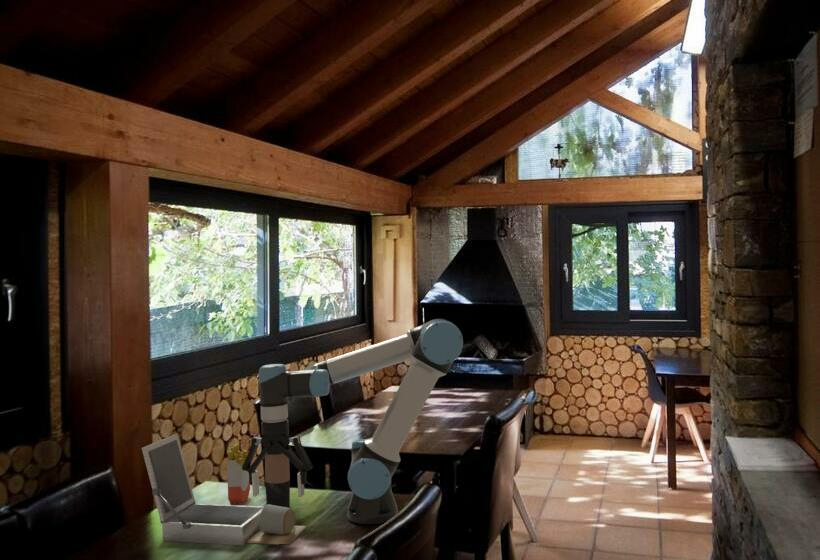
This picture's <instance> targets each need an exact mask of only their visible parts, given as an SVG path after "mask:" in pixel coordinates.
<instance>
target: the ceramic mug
mask: <svg viewBox="0 0 820 560" xmlns="http://www.w3.org/2000/svg"><path fill="white" fill-rule="evenodd" d="M263 506H264V508H263V509H262V511H261V514H260V519H259V527H260V530H261V532H263V533H270V534H281V535H286V534H289V533H290V532H291V531H292V530H293V527H294V525H295V524H296V513H295V511H294V509H292V508H290V507H289V508H287V507H281V506H275V505H270V504H267V503H266V504H265V505H263ZM295 526H296V525H295Z"/></svg>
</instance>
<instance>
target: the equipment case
mask: <svg viewBox="0 0 820 560" xmlns="http://www.w3.org/2000/svg"><path fill="white" fill-rule="evenodd" d="M180 442H181V441H180V440H179V436H178V433H176V434H172V435H170V436H168V437H166V438H165V437H164V438H163V439H160V440H157V441H155V442H153V443H151V444H148V445H146V446H143V447H141V451H142V455H143V459H144V463H145V466H146V470H147V473H148V479H149V481H150V486H151V489H152V491H151V492H152V496H154V501H155V505H156V508H157V512H158V515H159V520H160V521H159V522H160V524H161V527H162V541H163V542H179V543H195V544H197V543H199V544H214V545H229V546H231V545H232V546H244V545H246V544H247V543H248V540H249V539H250V538H251V537H252V536H254V535H255V534H256V533H257V532H258V531H260V527H259V519H260V514H261V511H262V509H263V508H264V506H265V505H263V506H262V505H261V506H259V505H242V504H215V503H196V499H195V495H194V492H193V488H192V484H191V481H190V476H189V474H188V470H187V465H186V462H185V458H184V453H183V451H182V446H181V444H180ZM203 521H204V522H203ZM193 522H194V523H193ZM200 522H203V523H200ZM221 522H224V523H223V524H222V523H221ZM219 523H220V524H219ZM225 523H226V524H225ZM233 524H234V525H233ZM239 524H240V525H239Z"/></svg>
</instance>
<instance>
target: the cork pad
mask: <svg viewBox="0 0 820 560" xmlns="http://www.w3.org/2000/svg"><path fill="white" fill-rule="evenodd" d="M306 529H307V525H294V527H293V530H292V531H291V532H290V533H289V534H286V535H281V534H270V533H263V532H261V530H260V531H258V532H257V533H256V534H255V535H254V536H252V537H251V538H250V539H249V540H248V541H247V543H249V544H261V545H262V544H263V545H265V544H266V545H267V544H268V545H279V544H290V543H291V542H292V541H293V542H294V541H295V540H296V539H297V538H298V537H299V536H300V535H301V534H302V533H303V532H304V531H305V530H306ZM293 542H292V543H293ZM292 543H291V544H292ZM291 544H290V545H291Z"/></svg>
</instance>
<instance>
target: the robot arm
mask: <svg viewBox="0 0 820 560" xmlns="http://www.w3.org/2000/svg"><path fill="white" fill-rule="evenodd" d="M463 347H464V339H463V334H462V332H461V330H460V328H458V326H457V325H456V324H454V323H453V322H452V321H450V320H448V319H445V318H434V319H431V320H429V321H427V322H426V323H425V322H424V323H423V324H421V325H419V326H416V327H414V328H411V329H407V331H406V334H404V335H400V336H398V337H397V336H396V337H393V338H391V339H387V340H385V341H384V340H383V341H381V342H378V343H375V344H372V345H369V346H366V347H363V348H359V349H357V350H353V351H351V352H347V353H344V354H342V355H341V354H340V355H337V356H333V357H332V358H329V359H326V360H323V361H320V362H313V363H310V364H308V365H306V367H304V369H303V370H287V368H286V365H285V364H284V363H283V364H282V363H270V364H265V365H262V366H260V368H259V370H258V376H259V377H258V387H259V388H258V389H259V401H260V420H261V436H262V437H260V436H257V435H256V436H254V437H252V438H251V441H250V448H249V450H248V451H247V457H246V459H245V462H244V464H243V467H242V470H243V471H248V472H249V482H250V485H251V484H252V485H251V486H252V497H255V498H256V497H257V496H258V495H259V494H260V480H259V470H257V468H258V467H259V466H260V464H261V463H262V461H263V460H265V456H266V455H267V453H268V452H269V453H270V454H273V453H277V454H281V453H283V454H284V455H286V456H287V457H288V459H289V462H290V463H292V465H293V466H294V467H295V469H297V470H298V473H297V474H296V475H297V493H298V494H297V495H298V496H297V498H302V497H304V495H305V485H306V484H307V481H308V477H307V475H308V474H307V472H309V471H310V470H312V469H313V468H314V467H313V464H312V462H311V460H310V457H309V456H308V454H307V451H306V450H305V448H304V446H303V444H302V441H301V437H300V436H299V435H297V436H295V437H290V434H289V433H290V428H289V427H290V426H289V420H288V417H289V410H288V399H292V398H319V397H324V396H328V395H329V393H330V386H332V385H335V384H337V383H340V382H341V383H342V382H344V381H347V380H350V379H353V378H357V377H359V376H362V375H363V376H364V375H366V374H369V373H372V372H375V371H379V370H381V369H385V368H388V367H390V366H391V367H392V366H395V365H397V364H400V363H404V362H406V361H410V360H411V364H410V366H409V368H408V369H407V371H406V374H405V375H404V377H403V378H402V381H401V382H400V384H399V387H398V388H397V390H396V392H395V394H394V396H393V398H392V400H391V401H390V404H388V407H387V409H386V411H385V413H384V414H383V416H382V418H381V420H380V422H379V424H378V426H377V428H376V429H375V432H374V433H373V435H372V437H370V438H362V439H356V440H353V441H352V443H351V447H350V451H351V462H350V466H349V469H348V472H347V481H348V485H349V488H350V490H351V492H352V493H351V496H350V499H349V504H348V507H347V513H346V514H347V520H349V521H350V522H352V523H356V524H361V525H380V524H385V523H386V522H385V521H387V520H389V519H390V518H391V517H393V516H394V515H396V514H397V513H399V509H398V505H397V501H396V499H395V497H394V494H393V491H392V477H393V475H394V474H395V472H396V470H397V468H398V466H399V464H400V462H401V456H400V451H401V449H402V446H403V445H404V444H405V441H406V439H407V438H408V436H409V434H410V432H411V431H412V429H413V427H414V424H415V423H416V421H417V420H418V417H419V415H420V414H421V412H422V410H423V408H424V406H425V404H426V402H427V401H428V399H429V397H430V395H431V393H432V391H433V389H434V387H435V386H436V383H437V382H438V380H439V378H441V377H444V376H446V375H447V374H448V372H449V370H450V368H451V367H452V365H453V363H454V361H455V360H457V359H458V357H459V356H460V355H461V353H462V351H463ZM290 443H291V445H292V446H293V447H294V449H295V452H296V453H297V455H298V456H297V455H296V453H295V452H294V451H293V448H292V447H291V446H290ZM261 444H262V445H263V448H262V450H261V451H260V453H259V455H258V456H257V457H256V458H255V460H254V457H255V455H256V453H257V450H258V448H259V446H260V445H261ZM253 460H254V461H253ZM252 462H253V463H252ZM384 522H385V523H384Z"/></svg>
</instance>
